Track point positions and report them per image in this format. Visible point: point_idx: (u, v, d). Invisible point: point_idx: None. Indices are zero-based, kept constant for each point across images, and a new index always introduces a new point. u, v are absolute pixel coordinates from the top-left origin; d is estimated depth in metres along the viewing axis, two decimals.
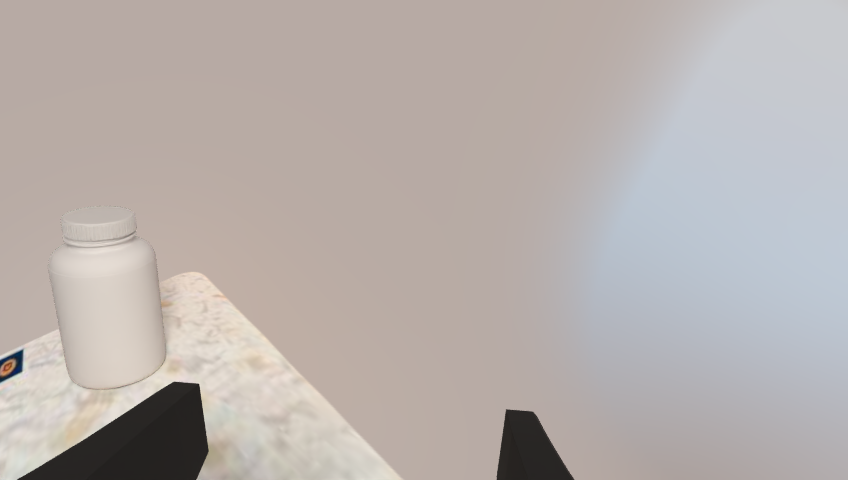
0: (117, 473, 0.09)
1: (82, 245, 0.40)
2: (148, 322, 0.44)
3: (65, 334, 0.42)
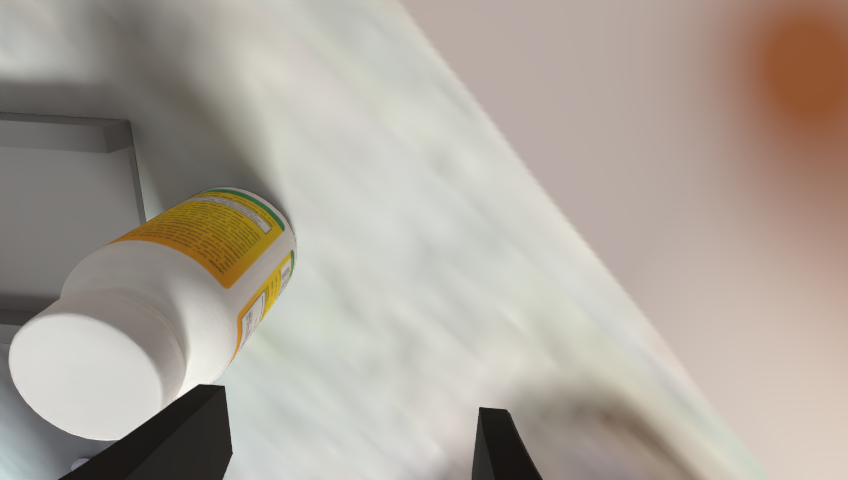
0: (150, 476, 0.09)
1: None
2: None
3: None
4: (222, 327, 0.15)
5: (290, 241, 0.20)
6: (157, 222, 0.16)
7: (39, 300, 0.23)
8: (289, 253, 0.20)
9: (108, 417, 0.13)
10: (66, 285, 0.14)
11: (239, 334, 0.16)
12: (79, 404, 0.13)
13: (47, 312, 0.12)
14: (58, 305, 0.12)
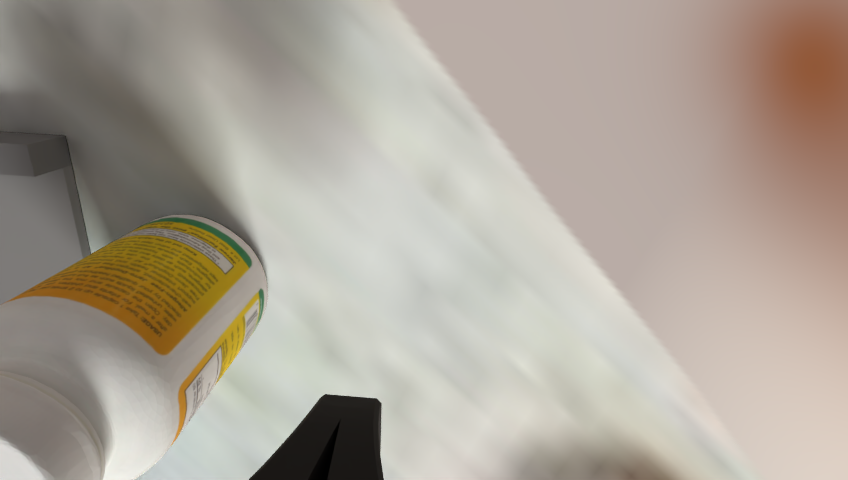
0: None
1: None
2: None
3: None
4: (156, 407, 0.12)
5: (258, 278, 0.17)
6: (82, 267, 0.13)
7: None
8: (257, 293, 0.17)
9: None
10: None
11: (182, 410, 0.12)
12: None
13: None
14: None
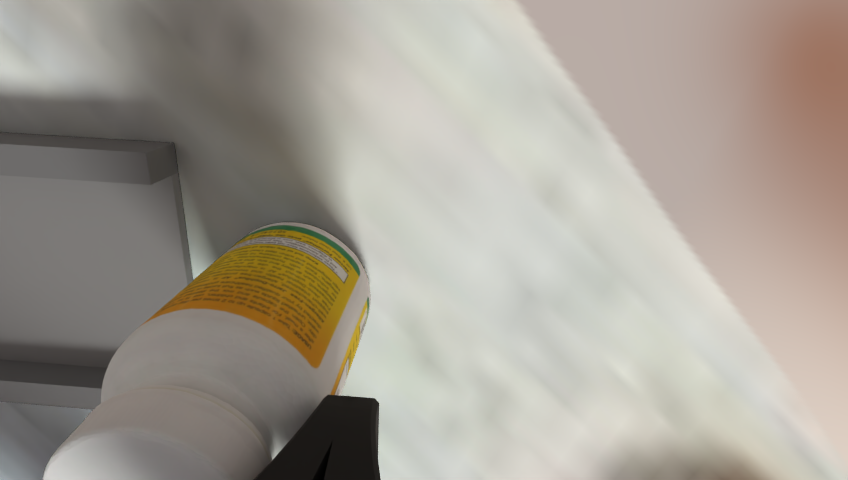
0: None
1: None
2: None
3: None
4: None
5: (365, 287, 0.17)
6: (221, 277, 0.13)
7: (62, 351, 0.19)
8: (366, 301, 0.17)
9: None
10: (112, 369, 0.11)
11: None
12: None
13: (97, 428, 0.09)
14: (110, 415, 0.09)
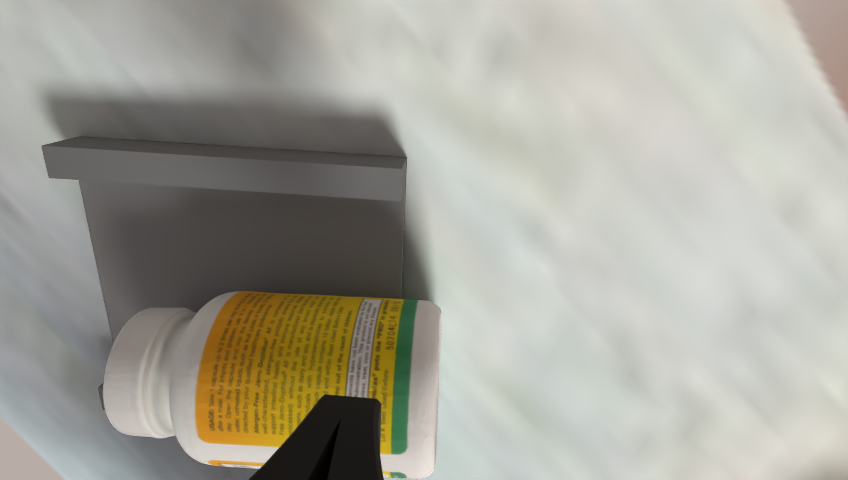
0: None
1: None
2: None
3: None
4: (186, 452, 0.14)
5: (400, 465, 0.14)
6: (270, 326, 0.14)
7: None
8: (386, 471, 0.14)
9: None
10: None
11: (218, 465, 0.15)
12: None
13: (126, 325, 0.15)
14: (135, 326, 0.15)
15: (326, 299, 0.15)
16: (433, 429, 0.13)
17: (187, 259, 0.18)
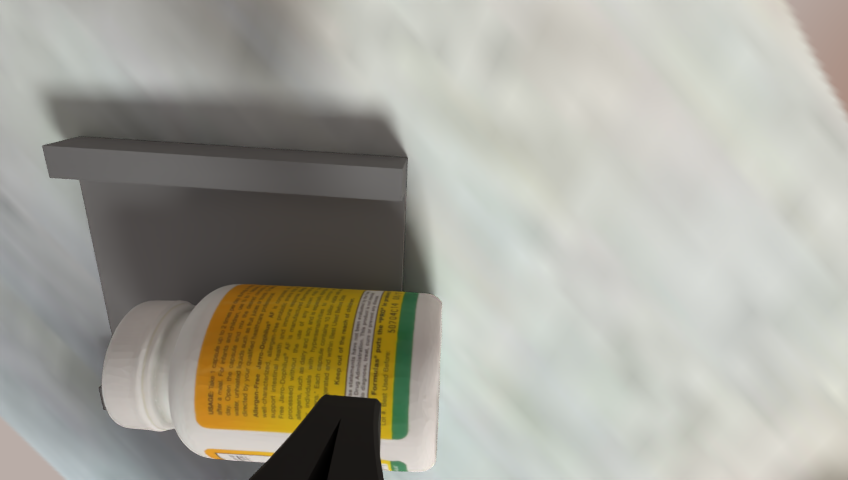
0: None
1: None
2: None
3: None
4: (183, 441, 0.14)
5: (400, 453, 0.13)
6: (272, 311, 0.14)
7: None
8: (385, 460, 0.14)
9: None
10: None
11: (214, 457, 0.14)
12: None
13: (129, 313, 0.15)
14: (138, 314, 0.15)
15: (328, 290, 0.16)
16: (434, 413, 0.13)
17: (188, 259, 0.18)
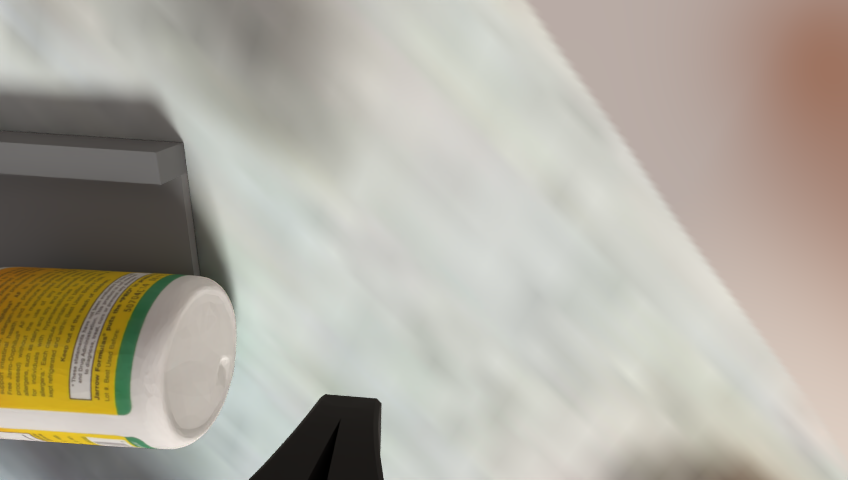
0: None
1: None
2: None
3: None
4: None
5: (130, 428, 0.14)
6: (20, 291, 0.15)
7: None
8: (120, 436, 0.14)
9: None
10: None
11: None
12: None
13: None
14: None
15: (96, 272, 0.16)
16: (159, 389, 0.14)
17: None
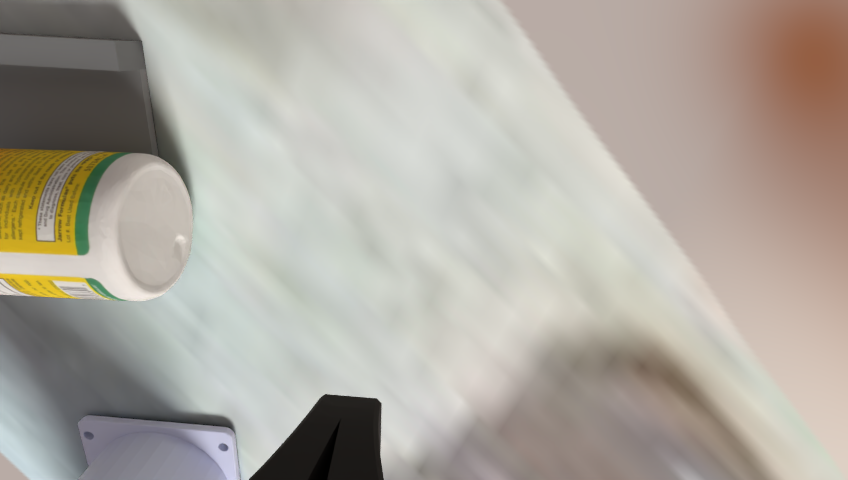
0: None
1: None
2: None
3: None
4: None
5: (89, 269, 0.16)
6: None
7: None
8: (81, 278, 0.16)
9: None
10: None
11: None
12: None
13: None
14: None
15: None
16: (114, 233, 0.16)
17: None
